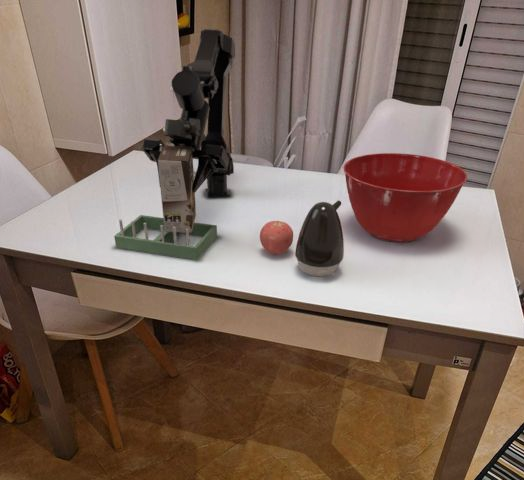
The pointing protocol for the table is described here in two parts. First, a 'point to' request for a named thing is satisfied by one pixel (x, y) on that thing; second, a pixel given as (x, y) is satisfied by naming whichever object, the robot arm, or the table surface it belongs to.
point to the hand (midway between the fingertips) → (177, 189)
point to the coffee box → (177, 188)
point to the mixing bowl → (401, 193)
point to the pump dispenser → (320, 240)
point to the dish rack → (164, 238)
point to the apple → (276, 237)
